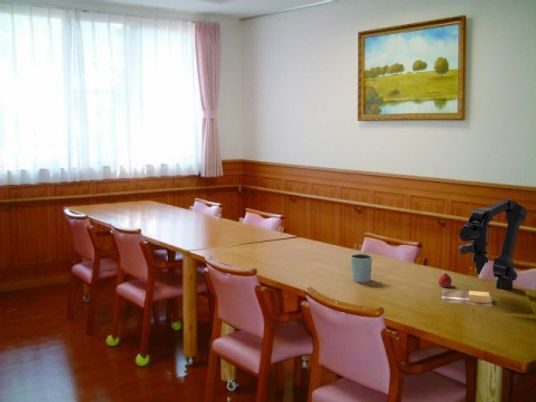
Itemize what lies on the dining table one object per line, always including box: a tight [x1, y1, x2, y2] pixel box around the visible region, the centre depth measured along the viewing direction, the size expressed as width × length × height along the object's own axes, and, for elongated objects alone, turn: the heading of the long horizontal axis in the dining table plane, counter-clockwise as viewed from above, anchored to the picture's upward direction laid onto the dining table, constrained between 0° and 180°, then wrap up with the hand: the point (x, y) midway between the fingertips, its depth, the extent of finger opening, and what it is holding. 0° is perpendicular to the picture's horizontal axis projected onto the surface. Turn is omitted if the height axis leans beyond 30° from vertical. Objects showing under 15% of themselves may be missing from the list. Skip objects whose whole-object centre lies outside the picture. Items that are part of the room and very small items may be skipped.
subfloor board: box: [441, 289, 493, 307], centre depth 253 cm, size 20×18×2 cm
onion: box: [437, 271, 453, 288], centre depth 270 cm, size 6×6×8 cm
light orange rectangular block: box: [468, 290, 490, 303], centre depth 248 cm, size 8×6×3 cm
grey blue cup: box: [350, 253, 373, 284], centre depth 285 cm, size 10×10×12 cm
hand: (478, 274), depth 255 cm, fingers closed
